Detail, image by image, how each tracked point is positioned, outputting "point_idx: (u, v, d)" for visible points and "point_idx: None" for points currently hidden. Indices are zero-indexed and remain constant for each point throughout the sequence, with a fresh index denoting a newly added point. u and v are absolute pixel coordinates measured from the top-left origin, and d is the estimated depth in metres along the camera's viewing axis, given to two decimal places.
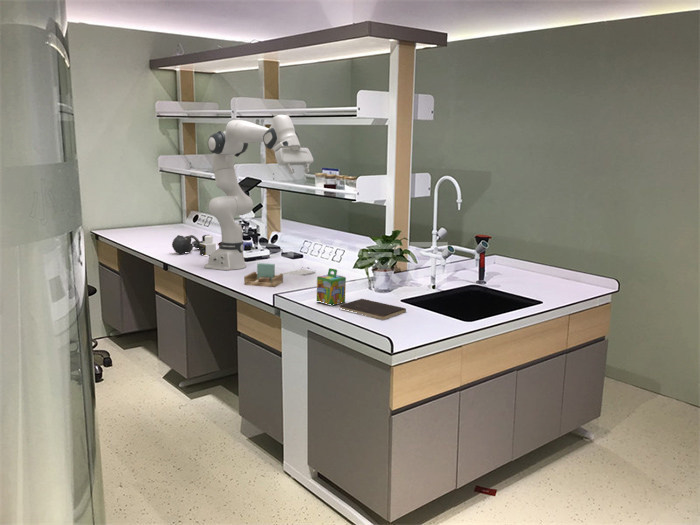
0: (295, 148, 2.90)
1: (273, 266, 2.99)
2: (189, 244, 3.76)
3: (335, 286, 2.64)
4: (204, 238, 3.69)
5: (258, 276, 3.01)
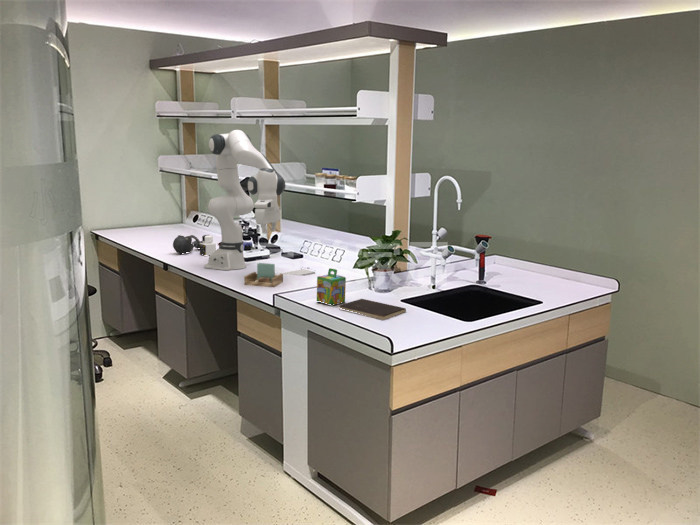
0: (273, 209, 2.93)
1: (273, 266, 2.99)
2: (190, 244, 3.76)
3: (335, 286, 2.64)
4: (204, 238, 3.69)
5: (258, 276, 3.01)
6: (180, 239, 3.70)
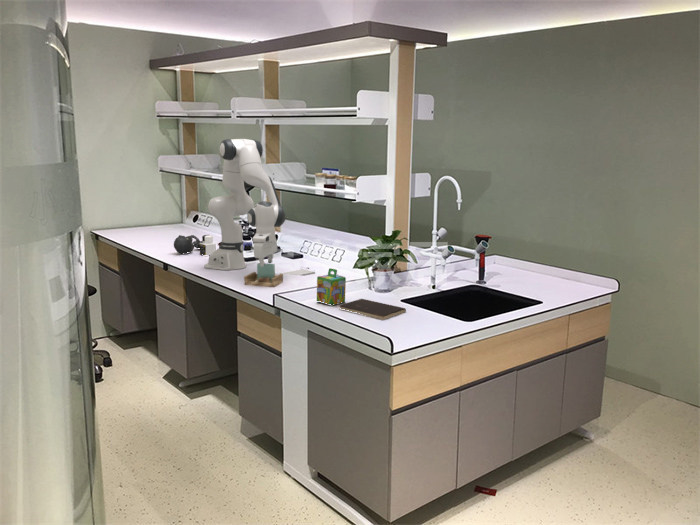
0: (271, 242, 2.96)
1: (273, 266, 2.99)
2: (190, 244, 3.76)
3: (335, 286, 2.64)
4: (204, 238, 3.69)
5: (258, 276, 3.01)
6: (181, 239, 3.70)
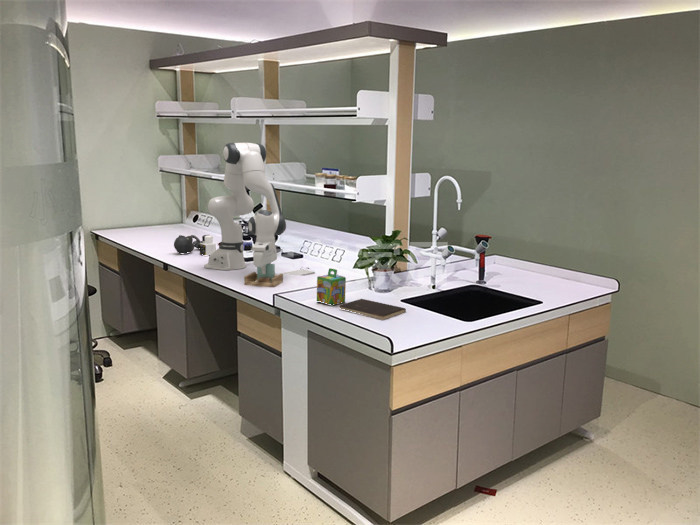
0: (271, 251, 2.97)
1: (273, 266, 2.99)
2: (191, 244, 3.76)
3: (335, 286, 2.64)
4: (204, 238, 3.69)
5: (258, 276, 3.01)
6: (181, 239, 3.70)
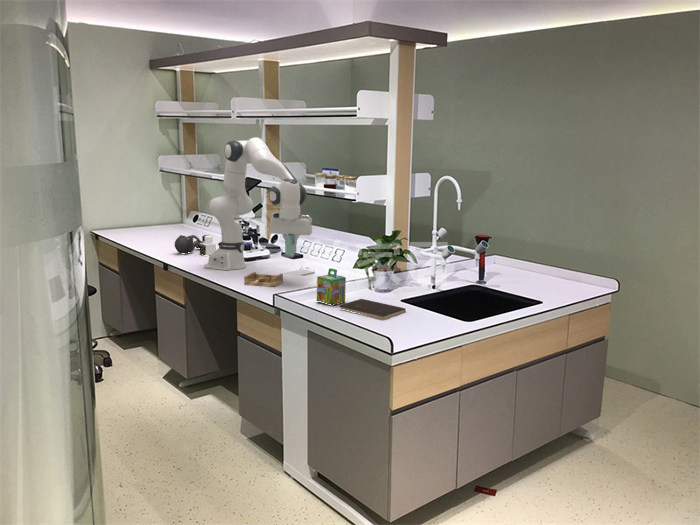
0: (287, 221, 2.86)
1: (287, 237, 2.87)
2: (191, 244, 3.77)
3: (335, 286, 2.64)
4: (204, 238, 3.69)
5: None
6: (182, 239, 3.70)
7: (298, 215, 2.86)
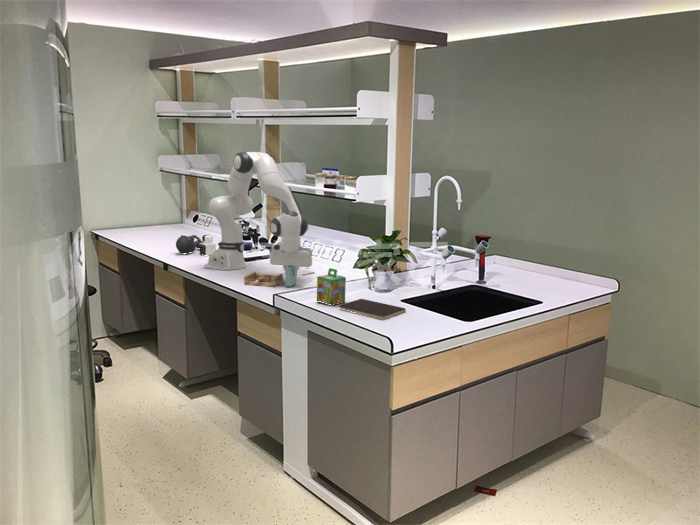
0: (287, 253, 2.89)
1: (287, 269, 2.90)
2: (192, 244, 3.77)
3: (335, 286, 2.64)
4: (204, 238, 3.69)
5: None
6: (183, 239, 3.70)
7: (298, 247, 2.89)
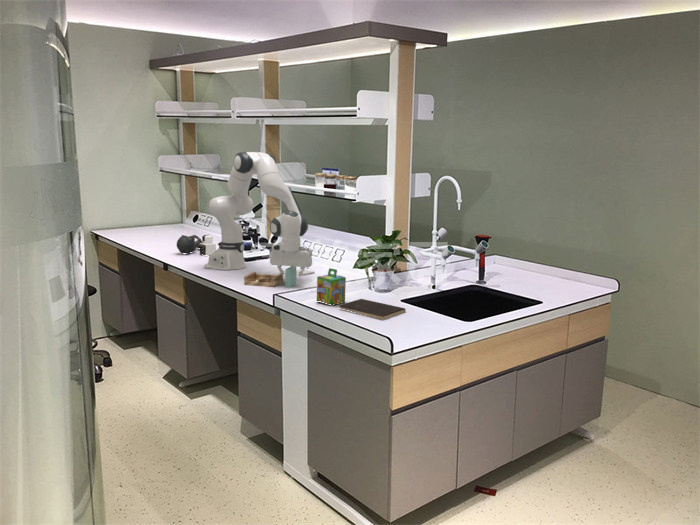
0: (287, 253, 2.89)
1: (287, 271, 2.90)
2: (193, 244, 3.77)
3: (335, 286, 2.64)
4: (204, 238, 3.69)
5: None
6: (184, 239, 3.70)
7: (298, 247, 2.89)
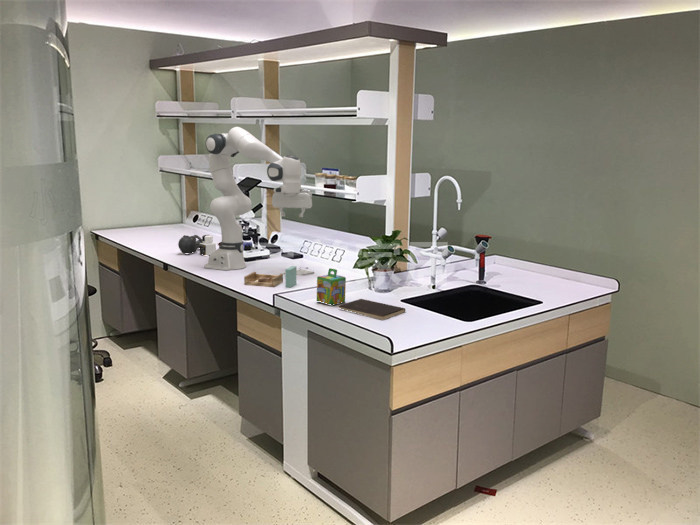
0: (288, 195, 3.05)
1: (287, 271, 2.90)
2: (194, 244, 3.77)
3: (335, 286, 2.64)
4: (204, 238, 3.69)
5: None
6: (186, 239, 3.70)
7: (299, 189, 3.05)
